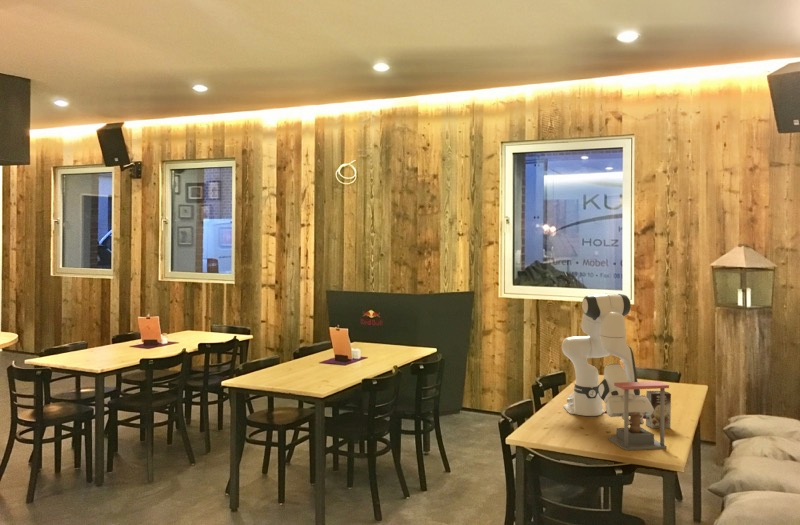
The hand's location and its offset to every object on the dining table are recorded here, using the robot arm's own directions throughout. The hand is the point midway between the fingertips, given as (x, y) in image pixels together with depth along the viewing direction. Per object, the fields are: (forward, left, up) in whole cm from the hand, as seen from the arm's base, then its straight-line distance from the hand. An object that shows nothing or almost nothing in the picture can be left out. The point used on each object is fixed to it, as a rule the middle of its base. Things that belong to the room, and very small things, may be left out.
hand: (635, 424), depth 260 cm
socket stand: (+1, 0, -8) cm, 8 cm away
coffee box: (-23, +24, -8) cm, 34 cm away
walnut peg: (-1, 0, -6) cm, 6 cm away
